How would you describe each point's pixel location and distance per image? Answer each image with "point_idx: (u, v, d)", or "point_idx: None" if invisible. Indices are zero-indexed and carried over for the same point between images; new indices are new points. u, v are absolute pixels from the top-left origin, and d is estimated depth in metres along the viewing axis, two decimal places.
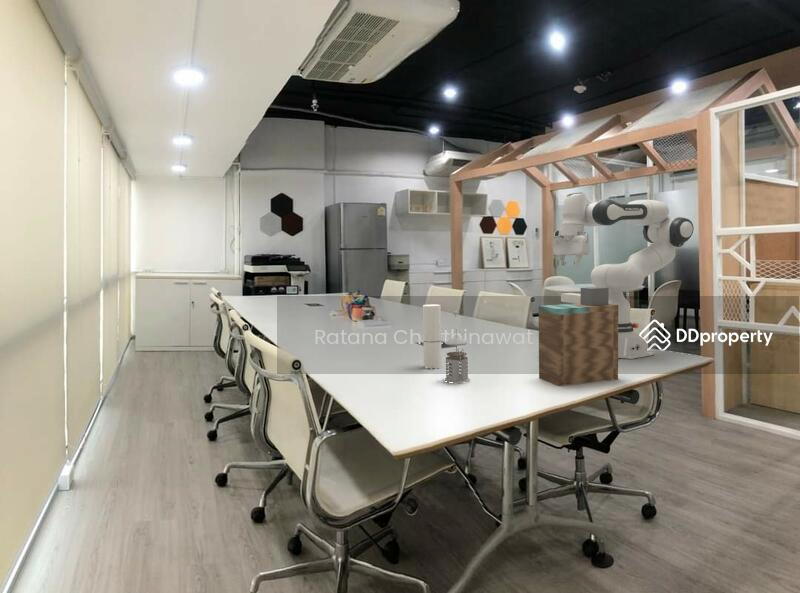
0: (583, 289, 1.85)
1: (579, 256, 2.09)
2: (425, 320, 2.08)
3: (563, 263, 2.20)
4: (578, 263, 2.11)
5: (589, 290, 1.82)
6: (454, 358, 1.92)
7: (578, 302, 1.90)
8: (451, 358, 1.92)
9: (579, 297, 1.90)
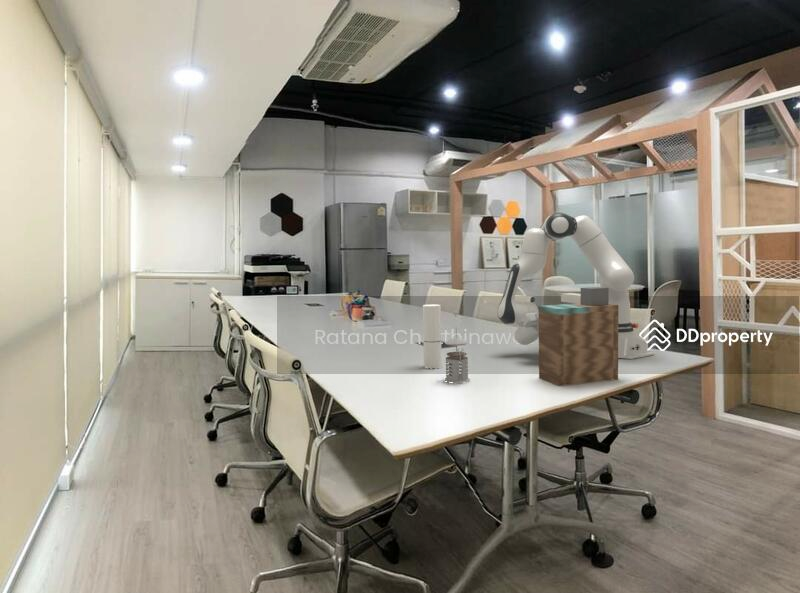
0: (583, 289, 1.85)
1: (537, 316, 2.09)
2: (425, 320, 2.08)
3: None
4: None
5: (589, 290, 1.82)
6: (454, 358, 1.92)
7: (578, 302, 1.90)
8: (451, 358, 1.92)
9: (579, 297, 1.90)
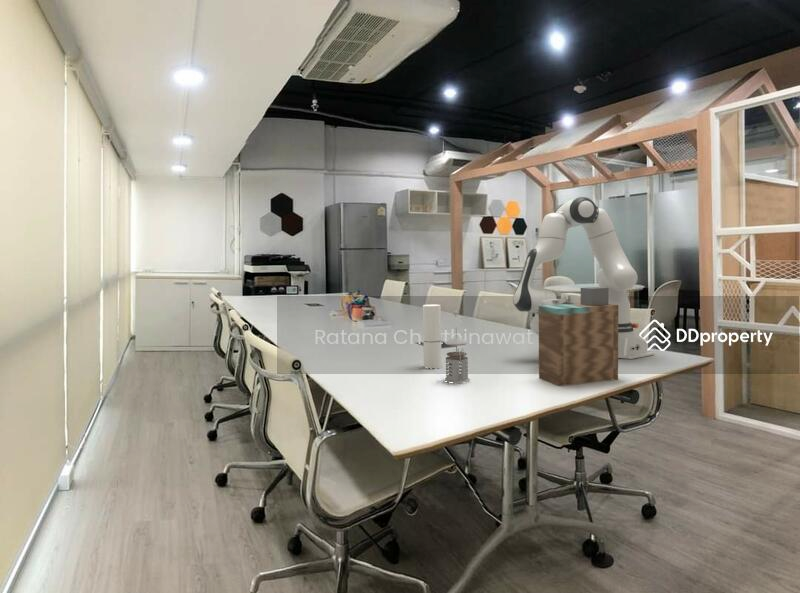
0: (583, 289, 1.85)
1: (559, 303, 1.98)
2: (425, 320, 2.08)
3: None
4: (564, 298, 1.96)
5: (589, 290, 1.82)
6: (454, 358, 1.92)
7: (578, 302, 1.90)
8: (451, 358, 1.92)
9: (579, 297, 1.90)
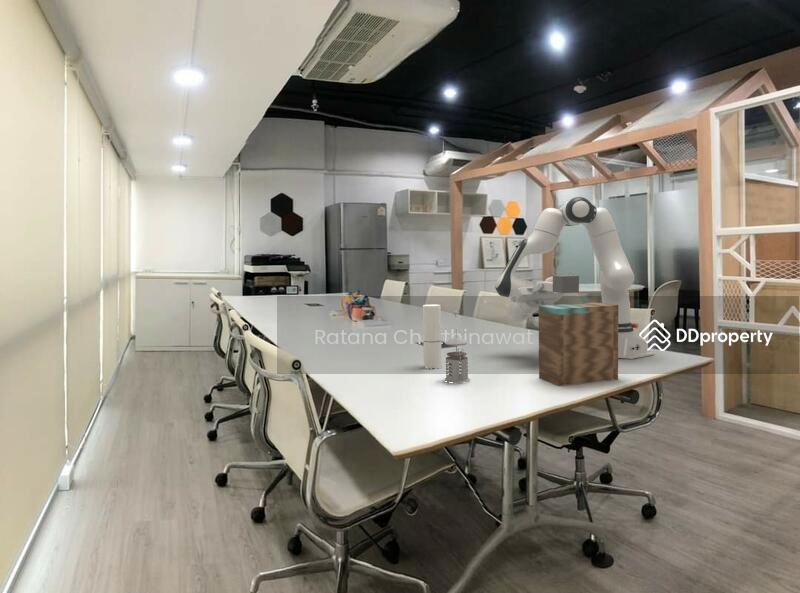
0: (555, 277, 1.93)
1: (533, 290, 2.06)
2: (425, 320, 2.08)
3: None
4: (538, 286, 2.04)
5: (560, 278, 1.90)
6: (454, 358, 1.92)
7: (551, 289, 1.98)
8: (451, 358, 1.92)
9: (552, 285, 1.98)
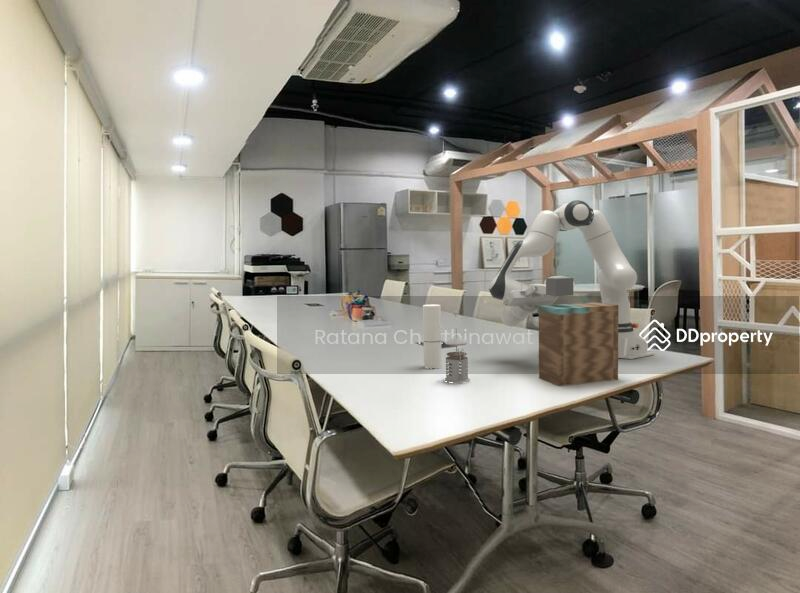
0: (548, 279, 1.84)
1: (526, 293, 1.97)
2: (425, 320, 2.08)
3: None
4: (531, 288, 1.95)
5: (554, 280, 1.81)
6: (454, 358, 1.92)
7: (544, 292, 1.89)
8: (451, 358, 1.92)
9: (545, 287, 1.89)
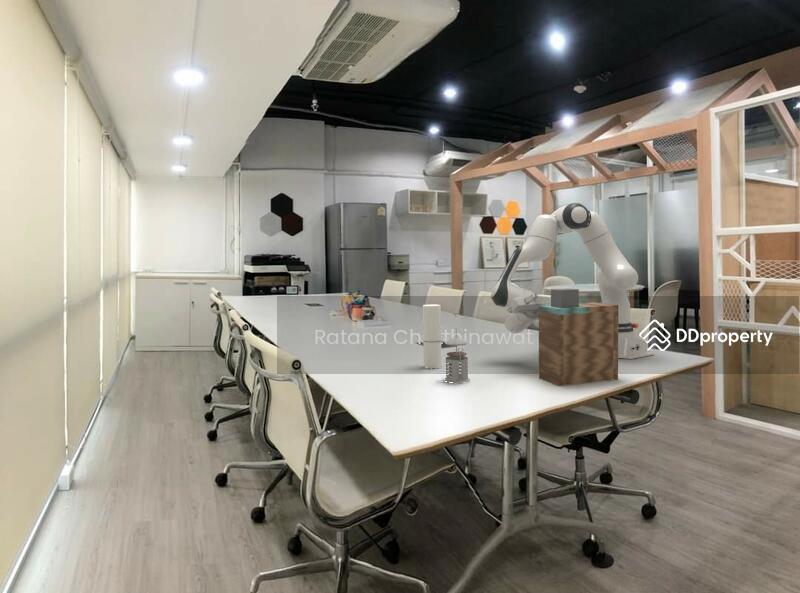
0: (553, 291, 1.81)
1: (526, 301, 1.93)
2: (425, 320, 2.08)
3: None
4: (531, 296, 1.92)
5: (559, 292, 1.78)
6: (454, 358, 1.92)
7: (549, 304, 1.87)
8: (451, 358, 1.92)
9: (550, 299, 1.86)
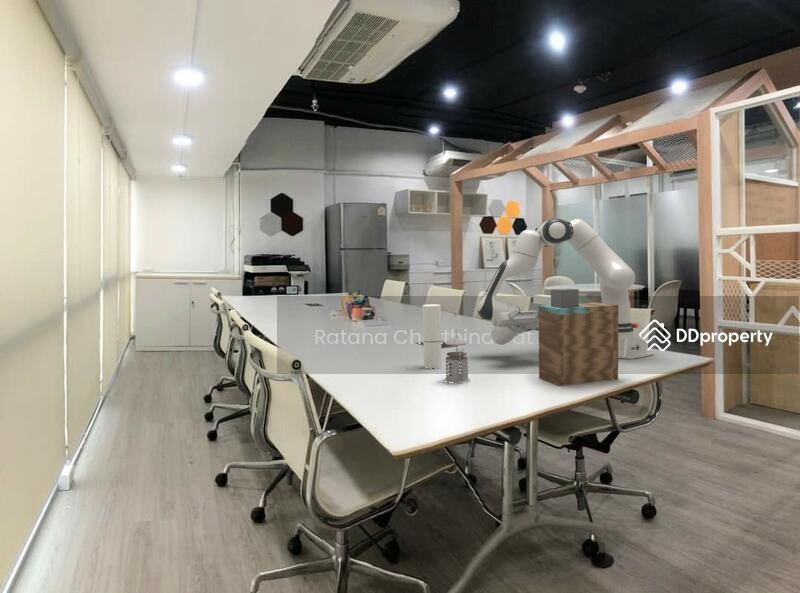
0: (553, 291, 1.81)
1: (510, 316, 2.05)
2: (425, 320, 2.08)
3: (537, 311, 2.06)
4: (515, 311, 2.03)
5: (559, 292, 1.78)
6: (454, 358, 1.92)
7: (549, 304, 1.87)
8: (451, 358, 1.92)
9: (550, 299, 1.86)
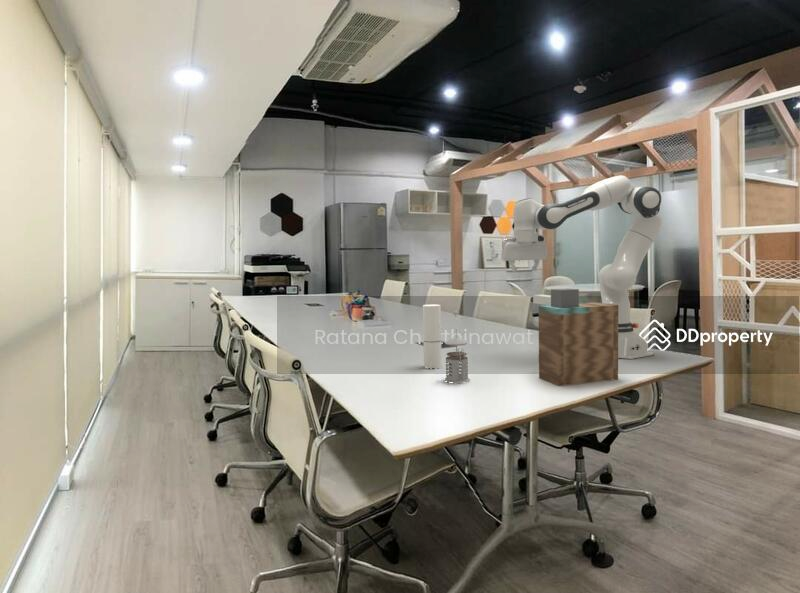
0: (553, 291, 1.81)
1: (510, 262, 2.19)
2: (425, 320, 2.08)
3: (532, 268, 2.22)
4: (513, 268, 2.19)
5: (559, 292, 1.78)
6: (454, 358, 1.92)
7: (549, 304, 1.87)
8: (451, 358, 1.92)
9: (550, 299, 1.86)
